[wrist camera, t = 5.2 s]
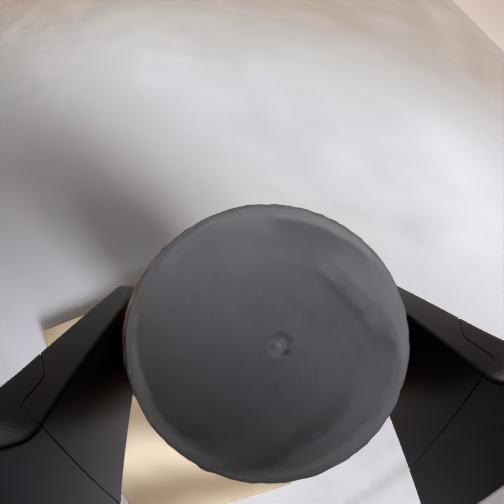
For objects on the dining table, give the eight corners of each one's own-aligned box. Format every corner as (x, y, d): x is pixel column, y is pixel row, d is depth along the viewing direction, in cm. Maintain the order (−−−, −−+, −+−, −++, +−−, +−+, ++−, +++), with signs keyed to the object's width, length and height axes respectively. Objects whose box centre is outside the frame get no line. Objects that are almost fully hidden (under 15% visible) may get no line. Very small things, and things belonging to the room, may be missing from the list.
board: (289, 476, 19) (291, 483, 18) (143, 512, 18) (140, 518, 17) (199, 270, 20) (197, 270, 19) (49, 329, 19) (42, 331, 18)
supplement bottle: (216, 260, 16) (202, 87, 5) (324, 317, 15) (496, 252, 5) (155, 367, 14) (4, 401, 3) (267, 426, 14) (353, 570, 3)
